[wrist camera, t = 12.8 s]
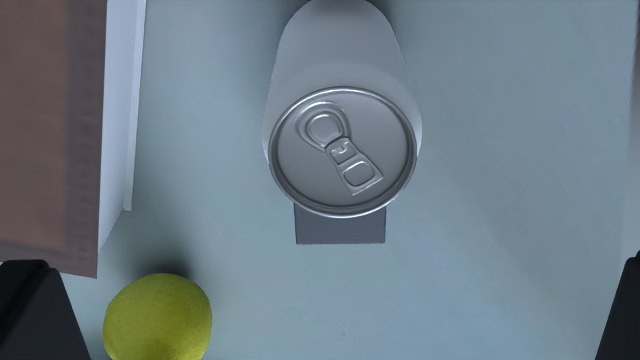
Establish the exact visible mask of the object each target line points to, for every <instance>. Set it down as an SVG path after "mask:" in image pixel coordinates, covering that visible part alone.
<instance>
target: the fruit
mask: <svg viewBox="0 0 640 360" xmlns="http://www.w3.org/2000/svg"><path fill="white" fill-rule="evenodd" d="M211 327H212V314H211V308H210V303H209V301H208V298H207V296H206V295H205V293H204V292H203V290H202V289H201V288H200V287H199V286H198V285H197V284H195V283H194V282H192V281H191V280H189V279H187V278H184V277H181V276H178V275H175V274H168V273H155V274H150V275H147V276H145V277H142V278H139V279H137V280H136V281H134V282H132V283H131V284H129V285H128V286H126V287H124V288H123V289H122V290H121V291H120V292H119V293H118V294H117V295H116V296H115V298H114V299H113V300H112V301H111V302H110V304H109V306H108V308H107V310H106V314H105V319H104V324H103V333H102V336H103V343H104V346H105V349H106V351H107V353H108V354H109V356H110V357H111V358H112V359H113V360H200V359H201V357H202V356H203V354H204V352H205V350H206V348H207V345H208V343H209V340H210V336H211Z"/></svg>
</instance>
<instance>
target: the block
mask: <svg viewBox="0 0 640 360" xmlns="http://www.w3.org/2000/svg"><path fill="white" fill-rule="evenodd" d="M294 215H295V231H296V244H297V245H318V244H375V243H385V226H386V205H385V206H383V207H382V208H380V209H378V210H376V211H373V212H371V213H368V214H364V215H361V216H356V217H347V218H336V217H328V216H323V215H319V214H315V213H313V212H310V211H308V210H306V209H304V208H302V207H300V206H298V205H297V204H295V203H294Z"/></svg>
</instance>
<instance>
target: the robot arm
mask: <svg viewBox="0 0 640 360" xmlns="http://www.w3.org/2000/svg"><path fill="white" fill-rule="evenodd" d="M0 360H91V358H90V356H89V353H88V350H87V347H86V344H85V342H84V339H83V336H82V333H81V331H80V328H79V325H78V322H77V320H76V317H75V314H74V311H73V309H72V306H71V303H70V300H69V298H68V295H67V292H66V289H65V287H64V284H63V281H62V278H61V276H60V273H59V271H58V270H57V269H56V268H50V266H49V264H48V263H47V262H46V261H45V260H42V259H20V260H7V261H4V262H3V263H2V264H1V265H0ZM595 360H640V250H639V251H638V252H637V255H636V257H631V258H629V259H628V260H627V261H626V263H625V266H624V269H623V272H622V276H621V279H620V282H619V285H618V288H617V291H616V295H615V298H614V301H613V304H612V307H611V310H610V314H609V317H608V320H607V323H606V326H605V329H604V333H603V336H602V339H601V342H600V345H599V348H598V352H597V355H596V358H595Z"/></svg>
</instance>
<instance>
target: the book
mask: <svg viewBox="0 0 640 360" xmlns="http://www.w3.org/2000/svg"><path fill="white" fill-rule="evenodd" d="M145 10H146V0H0V262H4V261H7V260H20V259H42V260H45V261H46V262H47V263H48V264H49V266H50V268H56V269H57V270H58V271H59V272H61V273H67V274H73V275H78V276H84V277H90V278H96V279H97V260H98V255H99V253H100V251H101V249H102V247H103V245H104V243H105V241H106V239H107V237H108V236H109V234H110V232H111V230H112V228H113V226H114V224H115V222H116V221H117V219H118V217H119V215H120V213H121V211H122V210H124V211H130V212H131V203H132V190H133V176H134V162H135V148H136V134H137V121H138V107H139V93H140V79H141V65H142V52H143V38H144V24H145Z"/></svg>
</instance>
